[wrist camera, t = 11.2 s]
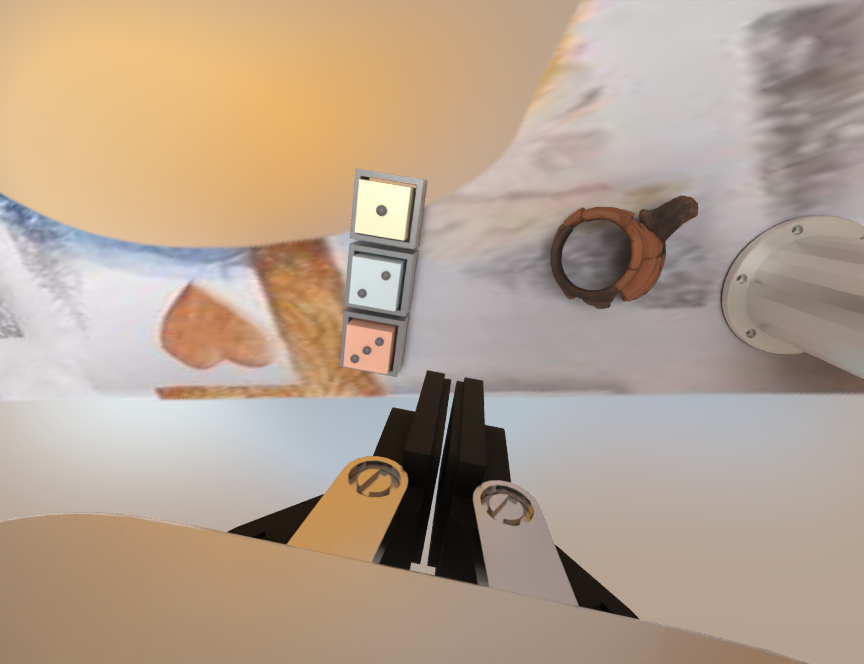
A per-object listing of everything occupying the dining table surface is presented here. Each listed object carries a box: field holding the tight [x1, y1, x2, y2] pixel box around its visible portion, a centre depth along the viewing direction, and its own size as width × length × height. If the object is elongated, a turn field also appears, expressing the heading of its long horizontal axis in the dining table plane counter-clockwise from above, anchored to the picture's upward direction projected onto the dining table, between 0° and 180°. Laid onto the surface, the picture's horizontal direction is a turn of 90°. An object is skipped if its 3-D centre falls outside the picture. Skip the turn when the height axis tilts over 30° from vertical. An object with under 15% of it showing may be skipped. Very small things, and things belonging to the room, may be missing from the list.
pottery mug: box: [551, 196, 698, 309], centre depth 35 cm, size 12×10×8 cm
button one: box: [355, 179, 417, 241], centre depth 36 cm, size 4×4×4 cm
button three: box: [343, 318, 399, 374], centre depth 40 cm, size 4×4×4 cm
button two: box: [349, 252, 407, 311], centre depth 38 cm, size 4×4×4 cm
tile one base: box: [350, 169, 427, 249], centre depth 37 cm, size 6×6×3 cm
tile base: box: [340, 307, 409, 377], centre depth 41 cm, size 6×6×3 cm
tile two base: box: [345, 241, 418, 317], centre depth 39 cm, size 6×6×3 cm
